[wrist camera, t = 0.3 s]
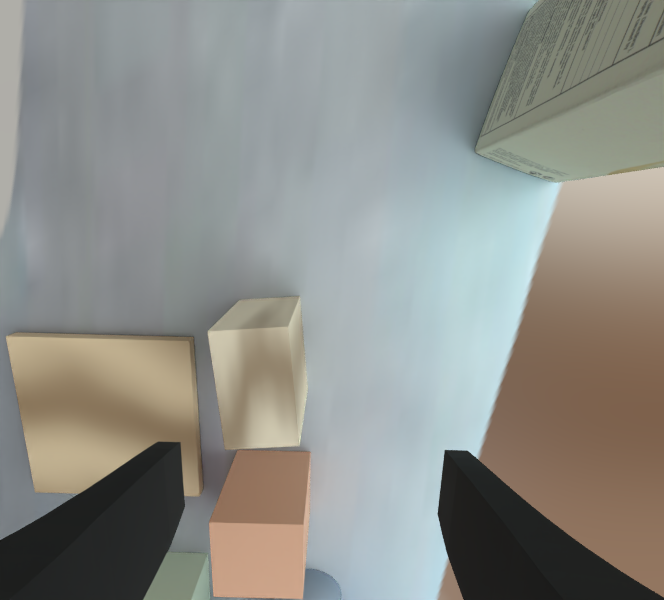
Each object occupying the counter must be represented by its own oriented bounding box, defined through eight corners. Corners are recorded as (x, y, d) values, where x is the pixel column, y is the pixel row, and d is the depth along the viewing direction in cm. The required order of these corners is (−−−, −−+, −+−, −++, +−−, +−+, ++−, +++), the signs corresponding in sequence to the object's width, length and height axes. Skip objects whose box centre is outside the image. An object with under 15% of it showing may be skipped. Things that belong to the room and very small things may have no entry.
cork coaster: (203, 488, 22) (199, 496, 21) (43, 484, 22) (35, 492, 21) (193, 337, 19) (189, 340, 19) (15, 332, 19) (5, 336, 19)
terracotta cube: (309, 512, 22) (302, 599, 17) (240, 510, 22) (213, 596, 17) (310, 451, 21) (303, 524, 16) (237, 449, 21) (209, 522, 16)
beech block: (251, 391, 20) (307, 388, 20) (224, 449, 15) (299, 445, 15) (239, 299, 19) (299, 295, 19) (207, 331, 14) (288, 326, 14)
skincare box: (556, 185, 18) (1014, 145, 6) (469, 153, 17) (763, 40, 5) (625, 35, 16) (1434, -438, 4) (531, -4, 16) (1122, -627, 4)
